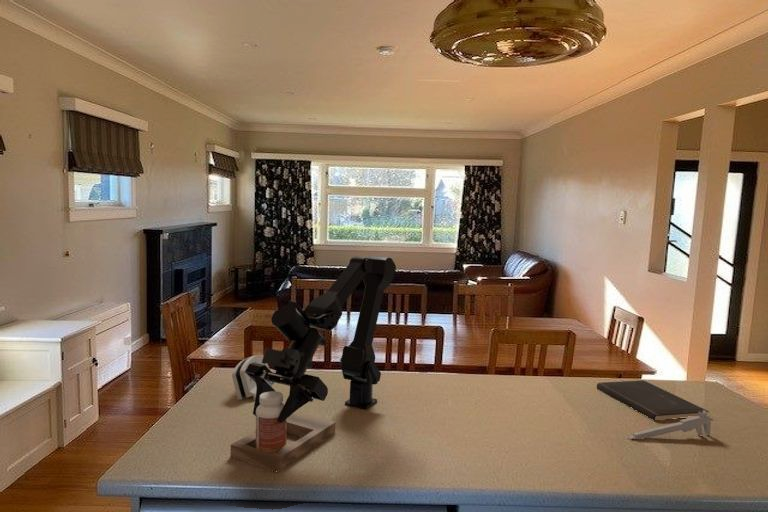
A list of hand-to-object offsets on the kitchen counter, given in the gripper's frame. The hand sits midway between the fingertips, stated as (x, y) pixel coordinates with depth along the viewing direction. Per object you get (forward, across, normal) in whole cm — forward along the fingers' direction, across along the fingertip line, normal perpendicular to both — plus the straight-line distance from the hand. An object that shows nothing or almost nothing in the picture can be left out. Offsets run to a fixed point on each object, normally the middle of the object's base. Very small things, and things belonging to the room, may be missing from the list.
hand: (266, 418), depth 100 cm
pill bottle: (+4, 0, +6) cm, 7 cm away
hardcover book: (-48, +68, +61) cm, 103 cm away
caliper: (-32, +73, +45) cm, 92 cm away
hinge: (-13, -29, +25) cm, 40 cm away
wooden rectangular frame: (+1, 0, +10) cm, 10 cm away
